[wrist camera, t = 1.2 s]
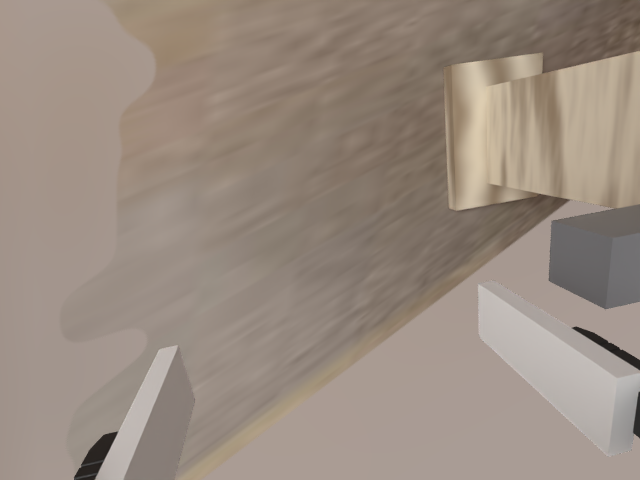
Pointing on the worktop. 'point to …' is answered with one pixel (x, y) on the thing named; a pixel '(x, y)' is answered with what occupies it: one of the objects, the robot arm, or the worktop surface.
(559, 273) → the grey stepped block
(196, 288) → the worktop surface
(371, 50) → the worktop surface
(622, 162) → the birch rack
